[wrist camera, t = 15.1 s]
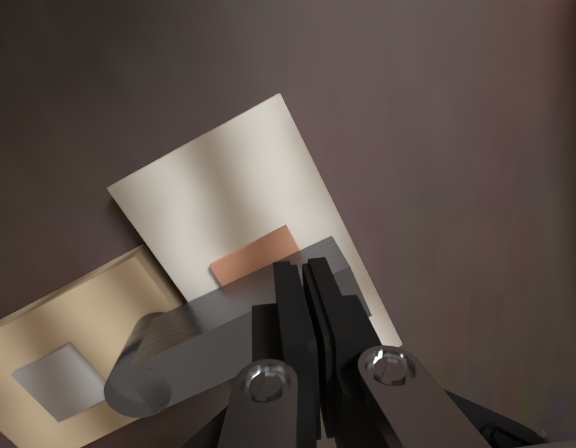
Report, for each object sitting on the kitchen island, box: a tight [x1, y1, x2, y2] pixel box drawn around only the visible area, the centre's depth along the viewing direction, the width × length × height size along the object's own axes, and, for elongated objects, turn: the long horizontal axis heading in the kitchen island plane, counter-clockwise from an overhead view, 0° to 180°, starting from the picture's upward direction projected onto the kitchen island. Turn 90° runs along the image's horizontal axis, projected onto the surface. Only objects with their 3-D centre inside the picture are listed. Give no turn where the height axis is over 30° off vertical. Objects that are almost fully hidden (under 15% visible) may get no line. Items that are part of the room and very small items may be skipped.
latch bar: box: [104, 236, 372, 418], centre depth 20 cm, size 14×3×5 cm, turn 115°
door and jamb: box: [0, 93, 402, 448], centre depth 23 cm, size 26×18×2 cm
